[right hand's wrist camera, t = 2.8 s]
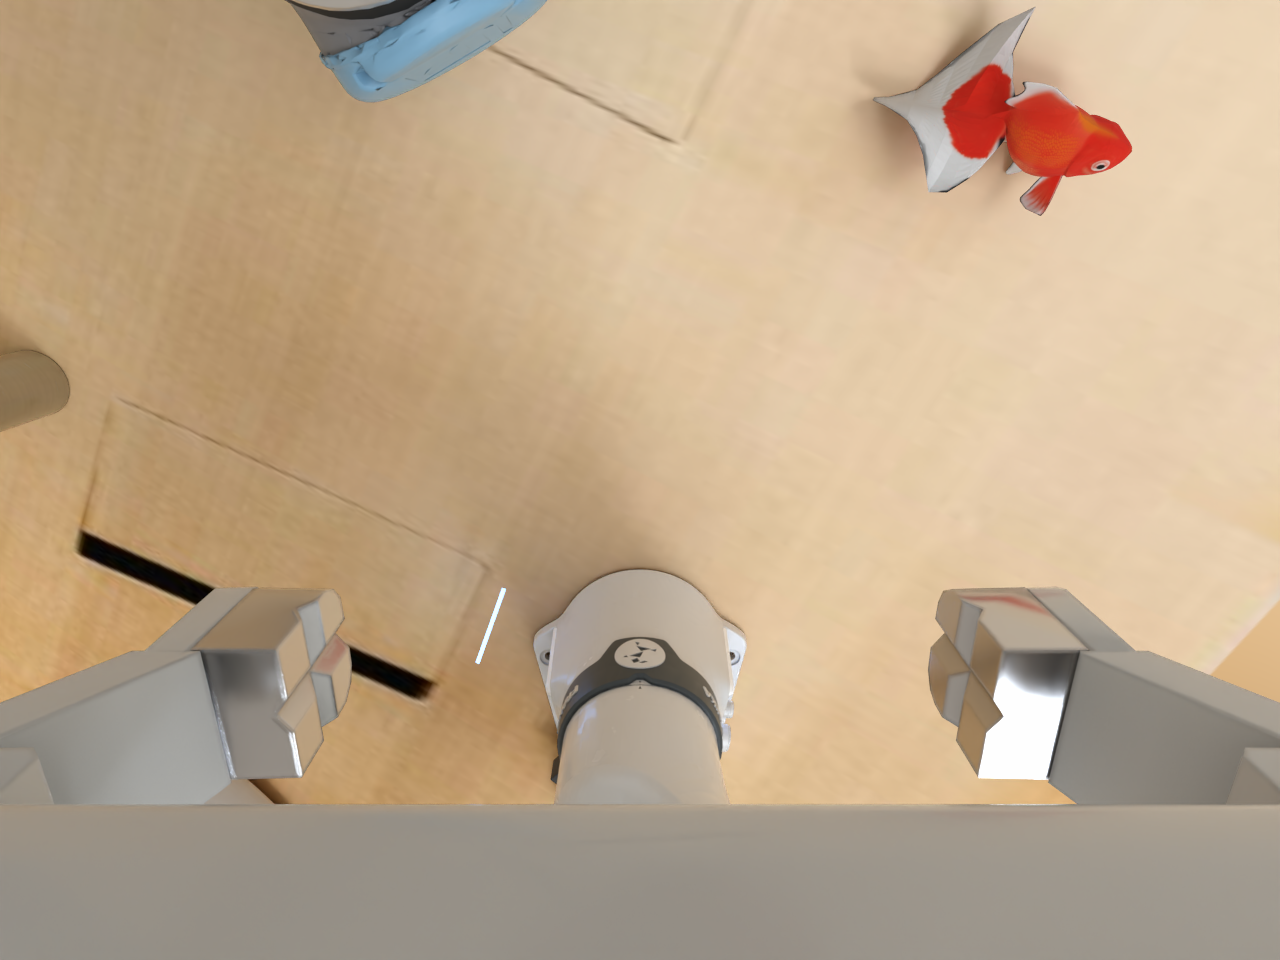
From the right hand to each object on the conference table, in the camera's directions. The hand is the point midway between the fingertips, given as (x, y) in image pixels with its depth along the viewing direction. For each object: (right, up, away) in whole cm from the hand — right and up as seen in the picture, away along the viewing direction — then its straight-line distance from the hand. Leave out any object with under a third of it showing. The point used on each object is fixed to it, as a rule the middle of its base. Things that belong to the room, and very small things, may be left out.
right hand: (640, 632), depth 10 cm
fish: (+23, +26, +41) cm, 54 cm away
